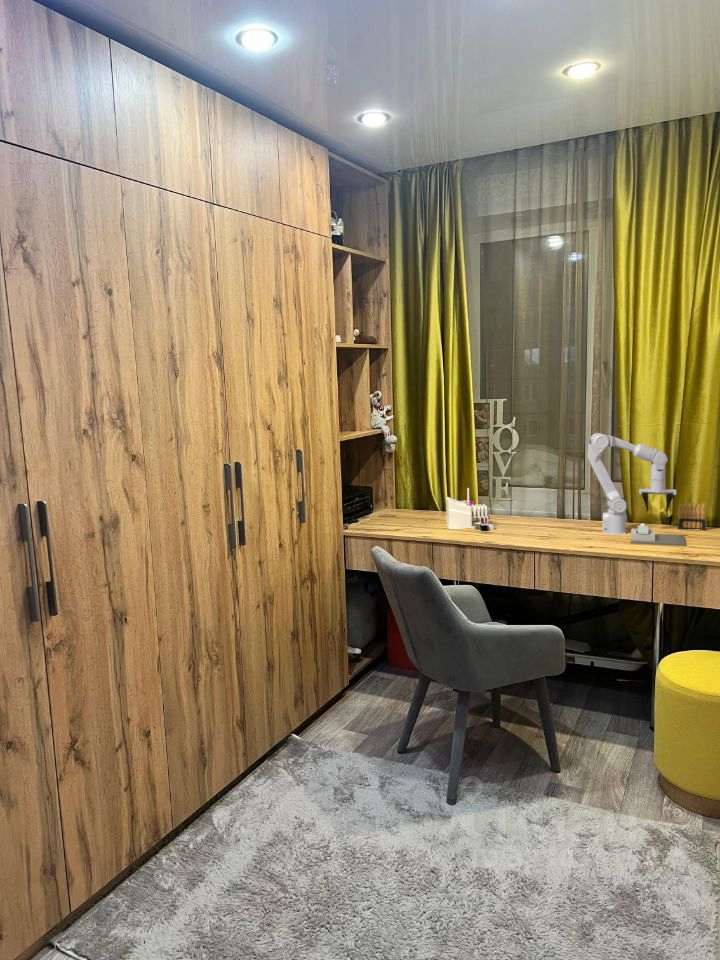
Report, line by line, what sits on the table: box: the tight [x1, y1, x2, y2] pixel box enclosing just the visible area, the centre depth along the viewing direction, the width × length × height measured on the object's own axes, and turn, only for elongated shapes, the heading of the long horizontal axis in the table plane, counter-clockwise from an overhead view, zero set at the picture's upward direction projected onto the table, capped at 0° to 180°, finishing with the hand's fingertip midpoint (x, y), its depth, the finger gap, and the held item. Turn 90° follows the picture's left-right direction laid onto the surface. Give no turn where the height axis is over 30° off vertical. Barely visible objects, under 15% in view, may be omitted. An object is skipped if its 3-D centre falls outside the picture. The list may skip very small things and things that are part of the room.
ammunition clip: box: [677, 502, 707, 531], centre depth 296 cm, size 11×2×12 cm, turn 69°
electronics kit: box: [445, 487, 495, 532], centre depth 329 cm, size 45×26×16 cm, turn 179°
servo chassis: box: [630, 528, 686, 547], centre depth 280 cm, size 20×16×4 cm
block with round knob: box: [637, 523, 649, 534], centre depth 282 cm, size 4×10×5 cm, turn 158°
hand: (657, 510), depth 294 cm, fingers open, 7 cm apart
